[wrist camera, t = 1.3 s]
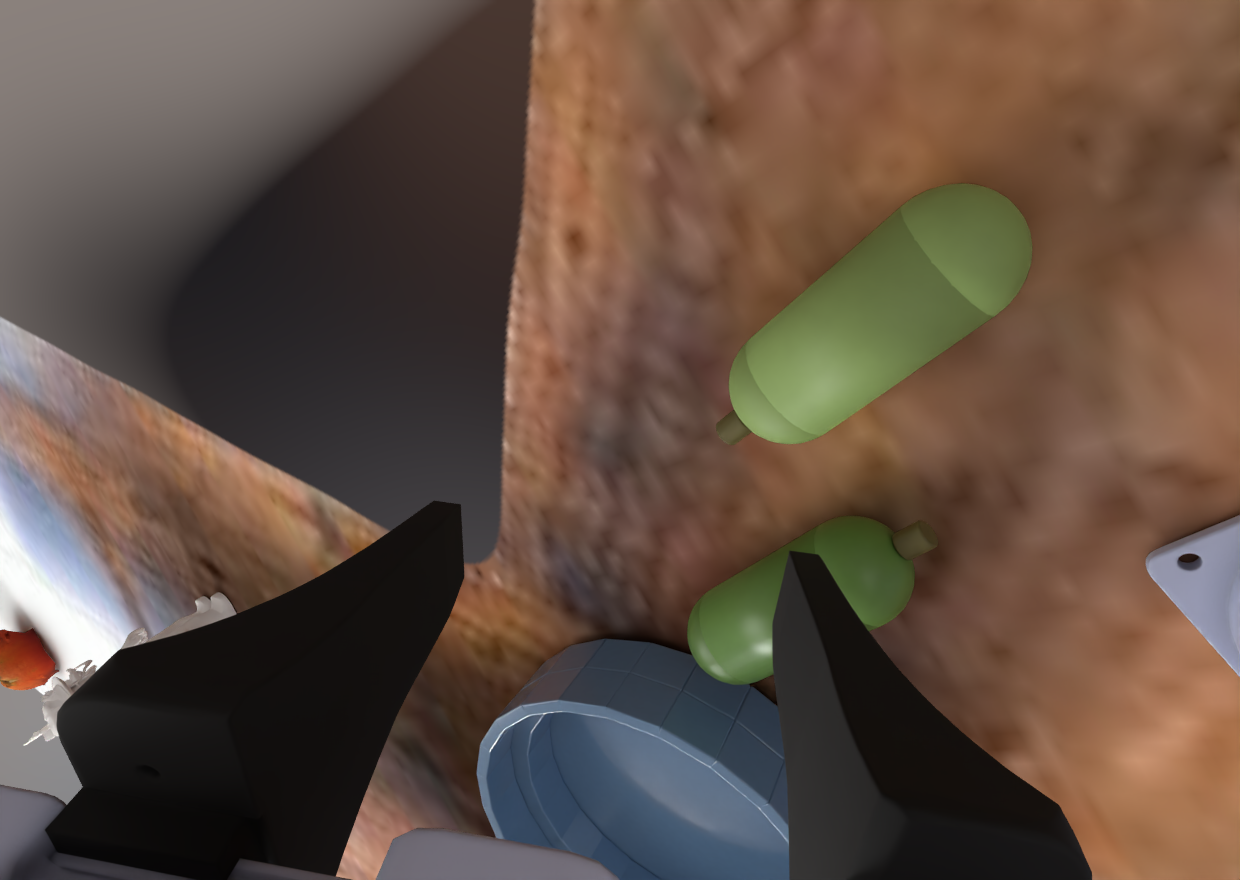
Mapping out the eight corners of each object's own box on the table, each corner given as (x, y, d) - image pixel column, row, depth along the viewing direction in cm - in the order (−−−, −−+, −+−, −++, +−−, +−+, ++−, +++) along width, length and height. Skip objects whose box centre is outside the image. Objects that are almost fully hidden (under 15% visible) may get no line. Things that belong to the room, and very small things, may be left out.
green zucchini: (897, 461, 22) (878, 515, 19) (973, 547, 22) (965, 614, 19) (690, 587, 28) (652, 643, 25) (749, 655, 28) (718, 719, 25)
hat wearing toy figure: (204, 635, 52) (21, 755, 43) (178, 590, 51) (-16, 703, 42) (267, 631, 47) (75, 767, 38) (238, 582, 46) (34, 708, 37)
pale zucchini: (970, 145, 18) (959, 155, 15) (1064, 250, 18) (1071, 280, 15) (709, 374, 24) (665, 412, 21) (778, 453, 24) (744, 501, 21)
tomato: (-5, 650, 76) (-65, 668, 68) (38, 598, 76) (-18, 610, 69) (55, 693, 76) (1, 716, 69) (97, 641, 76) (48, 658, 69)
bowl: (679, 572, 28) (628, 641, 24) (963, 897, 28) (953, 1015, 24) (478, 701, 38) (422, 763, 35) (683, 938, 38) (648, 1025, 35)
